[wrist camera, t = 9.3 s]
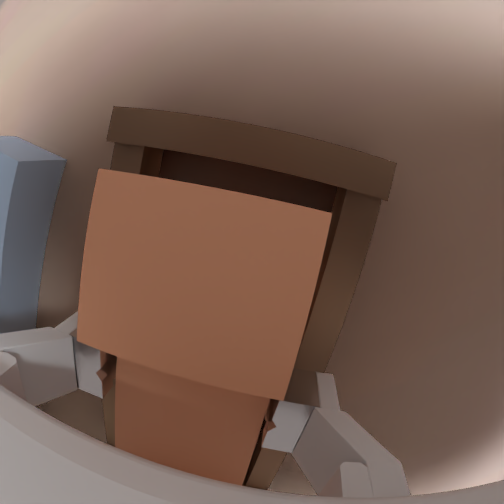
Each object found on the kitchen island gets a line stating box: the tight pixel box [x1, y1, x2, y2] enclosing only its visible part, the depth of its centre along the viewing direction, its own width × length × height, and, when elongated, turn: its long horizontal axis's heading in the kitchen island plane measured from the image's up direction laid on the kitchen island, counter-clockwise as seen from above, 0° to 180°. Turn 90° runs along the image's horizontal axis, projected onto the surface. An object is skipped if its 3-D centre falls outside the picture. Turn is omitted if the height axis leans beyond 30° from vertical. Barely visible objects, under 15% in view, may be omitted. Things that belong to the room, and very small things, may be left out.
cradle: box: [102, 106, 396, 490], centre depth 10 cm, size 15×8×2 cm, turn 167°
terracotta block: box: [77, 168, 332, 486], centre depth 7 cm, size 12×4×8 cm, turn 169°
